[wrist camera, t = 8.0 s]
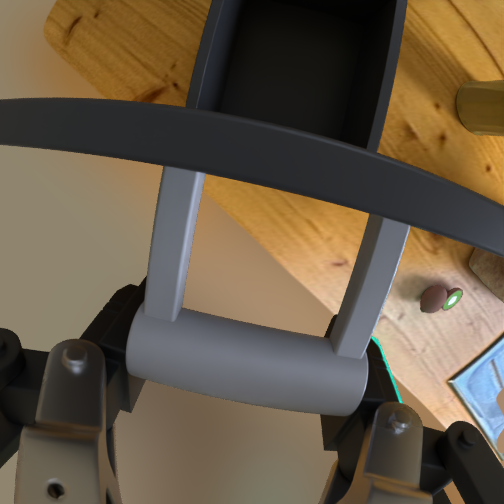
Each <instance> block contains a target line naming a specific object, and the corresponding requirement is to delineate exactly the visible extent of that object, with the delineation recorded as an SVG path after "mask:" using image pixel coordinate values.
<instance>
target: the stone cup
mask: <svg viewBox="0 0 504 504" xmlns="http://www.w3.org/2000/svg"><path fill="white" fill-rule="evenodd" d="M469 266H470V268H471V269H472V270H473V272H474V273H475V274H476V275H477V276H478V277H479V278H480V280H481V281H482V282H483V283H484V284H485V285H486V286H487V287H488V288H489V289H490V290H491V291H492V292H493V293H494V294H495V295H496V296H497V297H498V298H499V299H500V300H501V301H502V302H503V303H504V258H503V257H500V256H497V255H495V254H492V253H489V252H487V251H484V250H481V249H478V248H475V250H474V252H473V254H472V256H471V258H470V260H469Z"/></svg>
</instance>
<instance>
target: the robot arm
mask: <svg viewBox="0 0 504 504" xmlns="http://www.w3.org/2000/svg"><path fill="white" fill-rule="evenodd" d="M146 280H147V276H146V277H145V278H144V280H143V281H142V282H141V284H140V285H139V286H136V285H132V284H129V285H127V286H125V287H123V288H122V289H119V290H117V291H116V293H115V294H114V295H113V296H112V298H111V299H110V300H109V302H108V303H107V304H106V305H105V306H104V307H103V310H101V311H100V312H99V314H98V315H97V316H96V318H95V319H94V320H93V321H92V323H91V324H90V325H89V326H88V328H87V329H86V330H85V332H84V333H83V334H82V336H81V337H80V338H79V339H69V340H65V341H62V342H60V343H58V344H57V345H56V346H54V347H53V348H52V350H51V351H50V352H44V351H37V350H29V349H23V348H22V346H21V343H20V340H19V337H18V336H17V335H16V334H15V333H14V332H13V331H11V330H8V329H4V328H0V468H1V467H2V466H3V465H4V464H5V463H6V462H7V461H8V460H9V459H10V458H11V457H12V456H13V455H14V454H15V453H16V452H17V451H18V450H19V452H18V460H17V469H16V479H15V495H14V504H122V498H121V494H120V489H119V482H118V473H117V458H116V440H115V423H114V422H115V419H116V417H117V415H118V413H119V411H120V410H123V411H126V412H129V413H131V412H132V410H133V408H134V405H135V403H136V401H137V399H138V396H139V394H140V392H141V389H142V387H143V385H144V383H145V380H146V379H142V378H139V377H136V376H133V375H131V374H130V373H128V371H127V368H126V346H127V340H128V336H129V332H130V328H131V325H132V322H133V319H134V317H135V315H136V312H137V310H138V309H139V307H140V305H141V304H142V303H143V302H144V300H145V290H146ZM337 316H338V315H337V314H336V315H334V316H333V318H332V319H331V322H330V324H329V326H328V329H327V331H326V334H325V336H324V338H329V337H330V335H331V332H332V329H333V326H334V324H335V321H336V318H337ZM365 351H366V354H367V358H368V379H367V384H366V389H365V392H364V395H363V398H362V400H361V402H360V404H359V406H358V407H357V409H356V410H355V411H354V412H353V413H352V414H350V415H348V416H334V415H323V414H320V416H321V425H322V435H323V445H324V450H327V451H337V452H338V459H337V460H336V461H335V463H334V464H333V466H332V468H331V471H330V474H329V477H328V479H327V482H326V485H325V488H324V491H323V493H322V496H321V498H320V501H319V503H318V504H451V502H450V500H449V498H448V496H447V495H446V493H445V491H444V489H443V488H444V487H446V486H447V485H448V484H449V483H451V482H452V481H453V482H454V484H455V486H456V487H457V489H458V491H459V493H460V495H461V497H462V498H463V500H464V502H465V504H504V468H503V466H502V465H501V463H500V462H499V460H498V459H497V457H496V455H495V454H494V452H493V451H492V449H491V448H490V446H489V445H488V443H487V442H486V440H485V439H484V437H483V436H482V434H481V433H480V431H479V430H478V429H477V428H476V427H475V426H473V425H472V424H470V423H468V422H465V421H456V422H454V423H452V424H451V425H450V426H449V427H448V429H447V430H446V431H445V432H443V431H439V430H435V429H431V428H428V427H424V426H423V424H422V421H421V419H420V417H419V415H418V414H417V413H416V412H415V411H414V410H413V409H412V408H410V407H409V406H407V405H405V404H403V403H400V402H399V399H398V397H397V394H396V391H395V388H394V385H393V383H392V380H391V377H390V374H389V372H388V370H387V366H386V364H385V361H383V356H382V353H381V351H380V348H379V346H378V345H377V344H376V343H375V342H374V341H373V339H372V338H371V339H370V341H369V343H368V346H367V348H366V350H365Z"/></svg>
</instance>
